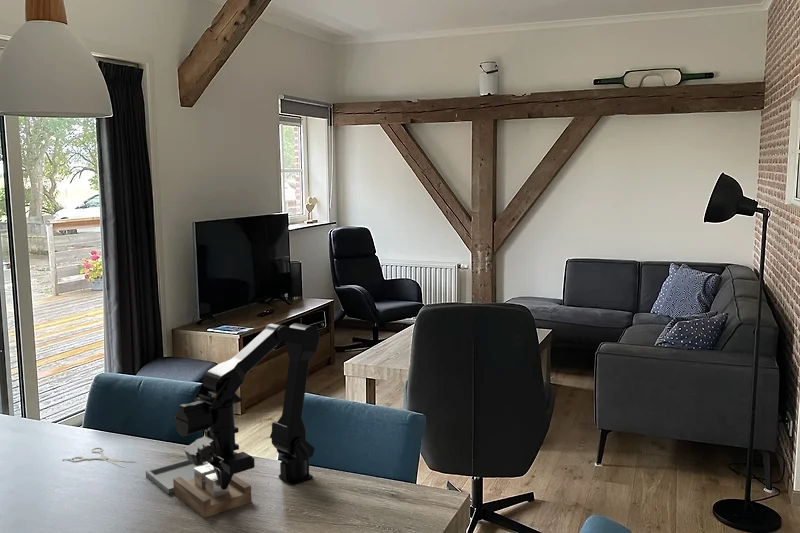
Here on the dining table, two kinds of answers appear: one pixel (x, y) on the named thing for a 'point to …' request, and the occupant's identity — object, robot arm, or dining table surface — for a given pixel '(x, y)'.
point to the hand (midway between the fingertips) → (224, 488)
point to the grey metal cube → (202, 474)
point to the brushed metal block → (214, 486)
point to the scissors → (99, 458)
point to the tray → (171, 474)
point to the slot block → (207, 503)
